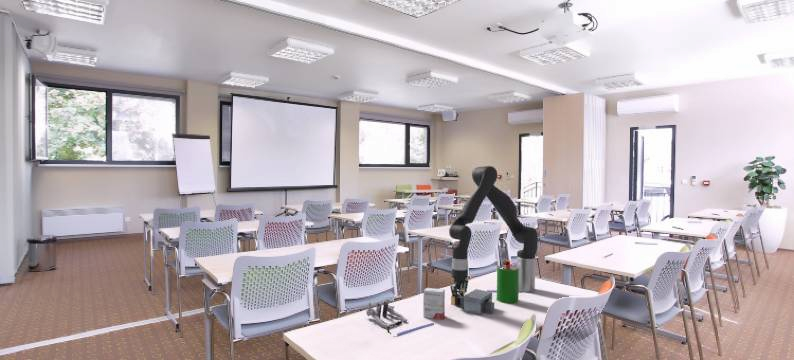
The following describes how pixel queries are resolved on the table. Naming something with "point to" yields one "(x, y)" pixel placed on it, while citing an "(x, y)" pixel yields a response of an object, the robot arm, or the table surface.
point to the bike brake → (384, 314)
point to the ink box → (434, 303)
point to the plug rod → (487, 305)
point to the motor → (507, 284)
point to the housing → (476, 301)
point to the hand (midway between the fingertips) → (459, 303)
